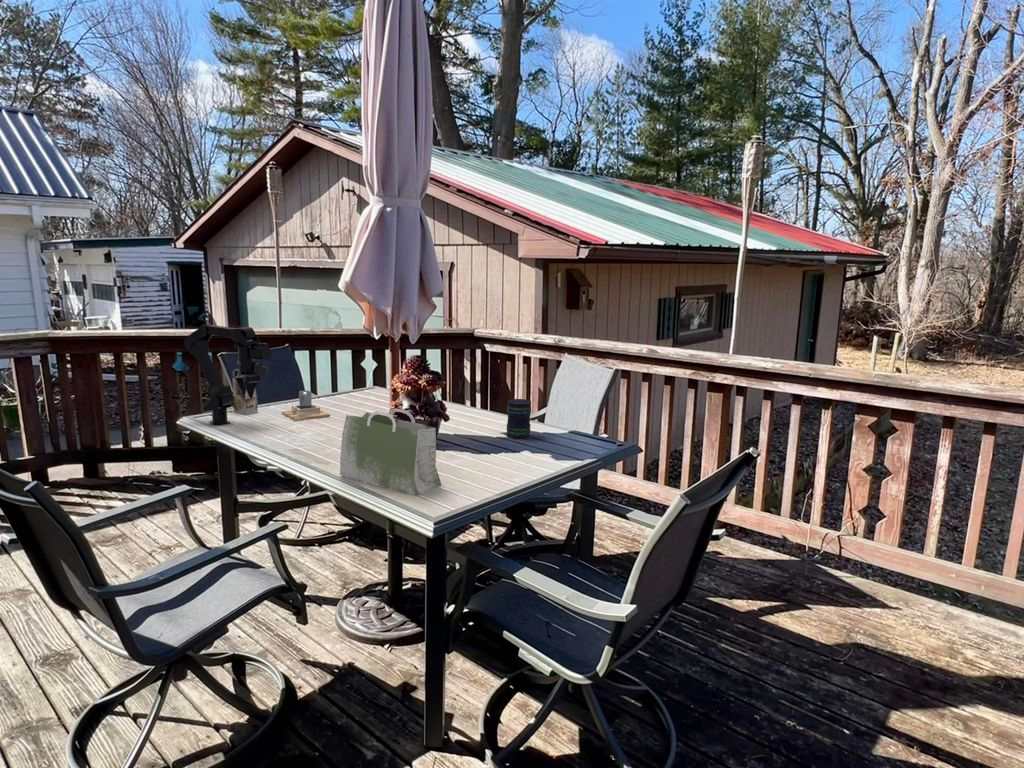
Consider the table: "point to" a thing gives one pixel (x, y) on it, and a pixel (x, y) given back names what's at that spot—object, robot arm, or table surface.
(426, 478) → the grocery bag
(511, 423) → the storage jar
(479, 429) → the table surface
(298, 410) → the socket block
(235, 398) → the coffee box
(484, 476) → the table surface
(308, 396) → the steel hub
